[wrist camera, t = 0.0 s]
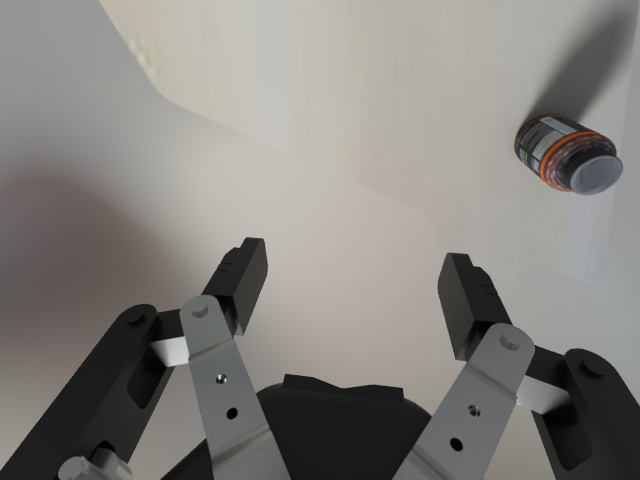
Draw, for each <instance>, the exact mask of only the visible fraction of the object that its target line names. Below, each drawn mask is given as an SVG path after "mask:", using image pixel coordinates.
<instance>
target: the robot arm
mask: <svg viewBox="0 0 640 480" xmlns="http://www.w3.org/2000/svg"><path fill="white" fill-rule="evenodd" d="M267 270H268V263H267V256H266V249H265V242H264V239H262V238H250V237H246V238H245V240H244V242H243V243H242V245H241V247H240V248H236V247H234V248H233V249H232V250H230V251H229V252H228V253H226V254H225V256H224V257H223V259H222V261H221V264H219V266H218V267H217V270H216V271H215V272H214V274H213V276H212V277H211V279H210V281H209V282H208V284H207V286H206V287H205V289H204V291H203V292H202V294H201V295H200V296H196V297H194V298H192V299H190V300H188V301H187V302H186V303H185V304H184V305H183V306H182V308H181V309H176V310H171V311H164V312H159V313H158V312H157V310H156V308H155V307H154V306H152V305H149V304H140V305H135V306H133V307H130V308H129V309H127V310H125V311H124V312H122V313H121V314H120V315H119V316H118V318H117V319H116V320H115V321H114V323H113V324H112V325H111V327H110V328H109V329H108V331H107V332H106V333H105V334H104V336H103V337H102V339H101V340H100V341H99V342H98V344H97V345H96V346H95V347H94V349H93V350H92V352H91V353H90V354H89V355H88V357H87V358H86V359H85V361H84V362H83V363H82V365H81V366H80V367H79V368H78V370H77V371H76V372H75V374H74V375H73V376H72V378H71V379H70V380H69V382H68V383H67V384H66V385H65V387H64V388H63V389H62V391H61V392H60V393H59V395H58V396H57V397H56V399H55V400H54V401H53V403H52V404H51V405H50V406H49V408H48V409H47V410H46V412H45V413H44V414H43V416H42V417H41V418H40V420H39V421H38V422H37V423H36V425H35V426H34V427H33V429H32V430H31V431H30V433H29V434H28V435H27V437H26V438H25V439H24V441H23V442H22V443H21V445H20V446H19V447H18V448H17V450H16V451H15V452H14V454H13V455H12V456H11V457H10V459H9V460H8V461H7V463H6V464H5V465H4V467H3V468H2V469H1V471H0V480H133V476H132V471H131V469H130V467H129V466H128V465H127V464H128V462H129V460H130V458H131V456H132V454H133V452H134V450H135V448H136V446H137V444H138V442H139V439H140V437H141V435H142V433H143V431H144V429H145V427H146V425H147V423H148V421H149V419H150V417H151V415H152V413H153V411H154V409H155V407H156V405H157V403H158V401H159V399H160V396H161V394H162V392H163V390H164V388H165V386H166V384H167V382H168V380H169V378H170V376H171V374H172V372H173V370H174V368H175V366H176V365H180V364H185V363H189V366H190V370H191V375H192V379H193V383H194V387H195V392H196V396H197V400H198V404H199V409H200V413H201V417H202V421H203V425H204V430H205V434H206V438H205V439H204V440H203V441H202V442H201V443H200V444H199V445H198V446H197V447H196V448H194V449H193V450H192V451H191V452H190V453H189V454H188V455H187V456H186V457H185V458H183V459H182V460H181V461H180V462H179V463H178V464H177V465H176V466H175V467H174V468H173V469H171V470H170V471H169V472H168V473H167V474H166V475H165V476H164V477H163V478H161V479H160V480H483V477H484V475H485V473H486V471H487V468H488V466H489V464H490V461H491V459H492V457H493V454H494V452H495V450H496V447H497V445H498V443H499V441H500V438H501V436H502V434H503V431H504V429H505V427H506V425H507V422H508V420H509V418H510V415H511V413H512V411H513V408H514V406H515V404H519V405H521V406H523V407H526V408H528V409H530V410H531V412H532V414H533V417H534V420H535V423H536V426H537V428H538V431H539V434H540V437H541V440H542V442H543V445H544V448H545V450H546V453H547V456H548V459H549V461H550V464H551V467H552V470H553V473H554V475H555V478H556V480H640V406H639V404H638V403H637V401H636V400H635V398H634V397H633V395H632V394H631V392H630V391H629V389H628V387H627V386H626V384H625V383H624V381H623V380H622V378H621V377H620V375H619V373H618V372H617V371H616V369H615V368H614V367H613V366H612V365H611V364H610V363H609V362H608V361H606V360H605V359H603V358H602V357H600V356H599V355H597V354H595V353H593V352H590V351H587V350H584V349H577V348H576V349H570V350H569V351H567V352H566V354H565V355H561V354H558V353H555V352H552V351H550V350H546V349H544V348H541V347H538V346H536V345H534V344H533V341H532V340H531V338H530V337H529V336H528V335H527V334H526V333H525V332H523V331H522V330H520V329H519V328H517V327H515V326H513V324H512V322H511V320H510V318H509V316H508V314H507V312H506V310H505V308H504V305H503V303H502V301H501V299H500V297H499V296H498V293H497V291H496V289H495V288H494V285H493V282H492V280H491V278H490V276H489V275H488V274H487V273H486V272H485V271H484V270H483V269H482V268H481V267H475V266H473V264H472V262H471V260H470V257H469V255H468V254H462V253H447V255H446V257H445V260H444V263H443V266H442V270H441V273H440V276H439V279H438V294H439V298H440V301H441V305H442V309H443V313H444V317H445V321H446V325H447V329H448V332H449V336H450V340H451V344H452V347H453V352H454V355H455V359H456V360H461V361H466V362H467V364H466V365H465V366H464V368H463V369H462V371H461V372H460V374H459V376H458V377H457V379H456V380H455V382H454V384H453V385H452V387H451V388H450V390H449V391H448V393H447V395H446V396H445V398H444V399H443V401H442V402H441V404H440V406H439V407H438V409H437V410H436V412H435V414H434V415H433V417H432V416H431V415H430V414H429V413H428V412H427V411H425V410H424V409H423V408H422V407H420V406H419V405H417V404H416V403H414V402H412V401H410V400H408V399H406V398H404V394H403V388H398V387H390V386H381V385H366V386H359V387H351V388H339V387H337V386H334V385H332V384H329V383H326V382H324V381H321V380H319V379H316V378H314V377H307V376H299V375H290V374H285V377H284V381H283V383H278V384H275V385H271V386H269V387H266V388H264V389H263V390H261V391H259V392H257V393H255V390H254V388H253V385H252V383H251V381H250V378H249V375H248V373H247V371H246V368H245V365H244V363H243V360H242V358H241V355H240V353H239V351H238V348H237V345H236V343H235V341H234V338H233V337H234V335H241V336H243V335H244V332H245V330H246V327H247V325H248V322H249V320H250V317H251V315H252V312H253V310H254V307H255V304H256V302H257V299H258V297H259V294H260V292H261V289H262V287H263V284H264V282H265V279H266V276H267Z"/></svg>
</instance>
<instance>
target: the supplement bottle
mask: <svg viewBox="0 0 640 480" xmlns="http://www.w3.org/2000/svg"><path fill="white" fill-rule="evenodd" d="M514 147H515V153H516V155H517V157H518V158H519V159H520V160H521V161H522V162H523V163H524V164H525V165H526V166H527V167H529V168H530V169H531V170H532V171H533V172H534V173H535V174H536V175H538V176H539V177H540V178H541V179H542V180H543V181H544V182H546V183H547V184H548V185H549V186H550V187H552V188H554V189H556V190H559V191H564V192H575V193H577V194H580V195H594V194H597V193H600V192H603V191H605V190H606V189H608V188H610V187H611V186H612V185H613V184H614V183H616V182H617V180H618V179H619V178H620V176H621V174H622V171H623V164H622V162H621V160H620V159H619V158H617V157H616V154H617V153H616V152H617V151H616V148H615V145H614V144H613V143H612V141H611V140H610V139H608V138H607V137H605V136H603V135H601V134H599V133H597V132H595V131H592V130H591V129H588V128H586V127H584V126H582V125H580V124H577V123H576V122H573V121H571V120H569V119H568V118H565V117H562V116H559V115H553V114H550V115H544V116H541V117H538V118H536V119H534V120H532V121H530V122H529V123H528V124H527V125H525V126H524V127H523V128H522V130H521V131H520V132H519V134H518V135H517V138H516V140H515V145H514Z"/></svg>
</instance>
